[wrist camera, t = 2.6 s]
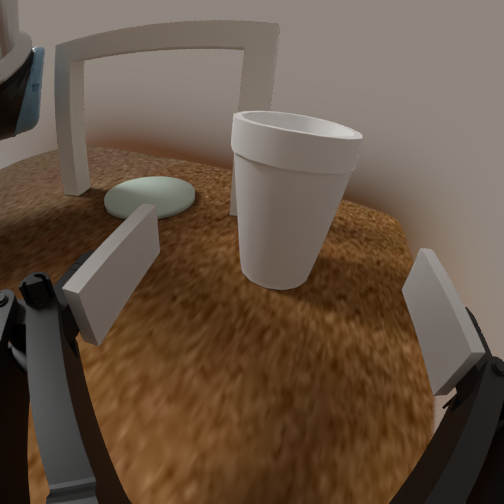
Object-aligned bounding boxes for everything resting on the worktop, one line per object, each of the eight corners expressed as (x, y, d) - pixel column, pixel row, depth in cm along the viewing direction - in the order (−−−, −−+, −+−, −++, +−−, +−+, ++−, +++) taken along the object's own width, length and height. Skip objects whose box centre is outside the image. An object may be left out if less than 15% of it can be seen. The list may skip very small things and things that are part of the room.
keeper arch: (45, 208, 32) (32, 47, 20) (92, 175, 42) (88, 44, 30) (249, 238, 30) (275, 14, 18) (262, 194, 40) (282, 34, 28)
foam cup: (206, 251, 28) (211, 110, 20) (283, 231, 32) (302, 112, 25) (262, 318, 21) (291, 138, 14) (345, 281, 26) (387, 142, 19)
